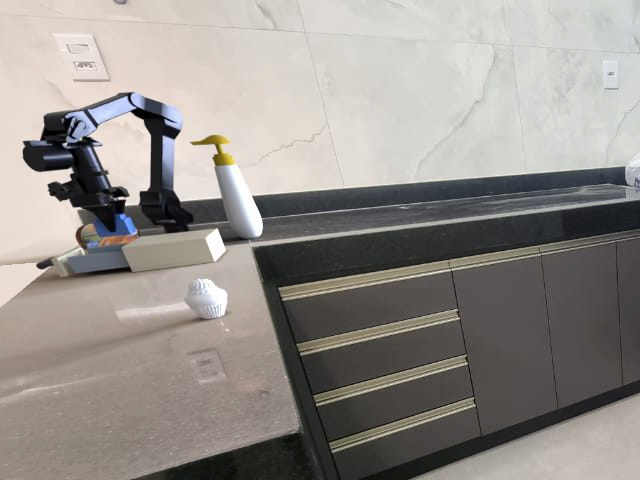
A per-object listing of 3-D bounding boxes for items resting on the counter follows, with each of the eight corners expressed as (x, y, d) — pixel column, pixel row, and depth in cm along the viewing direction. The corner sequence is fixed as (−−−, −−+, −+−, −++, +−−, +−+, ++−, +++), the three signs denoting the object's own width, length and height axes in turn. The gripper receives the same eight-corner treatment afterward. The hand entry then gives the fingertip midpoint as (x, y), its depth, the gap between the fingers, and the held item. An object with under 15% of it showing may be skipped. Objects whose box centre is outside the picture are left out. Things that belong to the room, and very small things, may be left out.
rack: (35, 280, 121) (25, 262, 119) (61, 267, 132) (52, 250, 130) (143, 266, 129) (135, 249, 127) (159, 255, 140) (152, 239, 138)
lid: (105, 234, 139) (95, 212, 137) (136, 231, 142) (126, 209, 139) (99, 237, 135) (88, 215, 133) (130, 234, 138) (120, 212, 136)
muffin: (184, 323, 93) (167, 285, 90) (204, 311, 98) (189, 275, 95) (222, 320, 93) (207, 282, 90) (240, 308, 99) (226, 272, 96)
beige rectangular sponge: (132, 272, 128) (120, 247, 125) (151, 259, 140) (140, 236, 137) (215, 261, 134) (205, 237, 132) (225, 250, 146) (217, 228, 144)
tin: (91, 256, 146) (75, 226, 142) (82, 256, 147) (66, 226, 143) (146, 244, 159) (133, 215, 156) (138, 244, 160) (125, 215, 156)
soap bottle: (225, 237, 164) (187, 136, 151) (264, 232, 169) (230, 133, 157) (228, 244, 154) (187, 136, 142) (269, 237, 160) (233, 133, 147)
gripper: (61, 167, 136) (91, 228, 143) (25, 173, 121) (60, 241, 127) (116, 163, 140) (142, 223, 147) (88, 169, 125) (119, 235, 132)
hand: (116, 230), depth 138 cm, fingers closed on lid, 4 cm apart
